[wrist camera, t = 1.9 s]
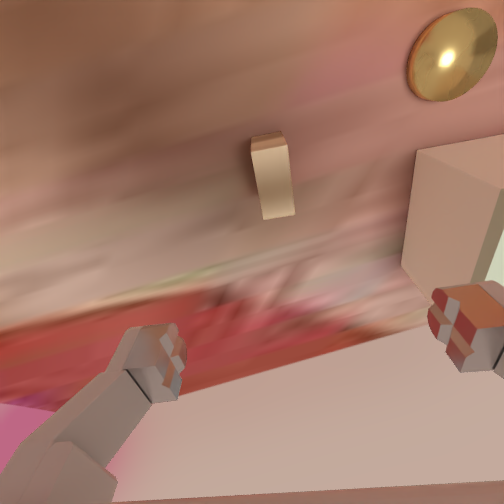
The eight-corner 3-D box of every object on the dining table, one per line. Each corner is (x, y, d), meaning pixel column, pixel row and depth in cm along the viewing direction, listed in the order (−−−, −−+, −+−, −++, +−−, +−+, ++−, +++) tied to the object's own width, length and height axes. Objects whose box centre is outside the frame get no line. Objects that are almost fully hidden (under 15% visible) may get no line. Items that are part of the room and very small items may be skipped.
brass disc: (409, 22, 18) (421, 18, 17) (490, 4, 17) (508, -2, 16) (400, 106, 21) (410, 108, 19) (470, 92, 20) (485, 93, 19)
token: (251, 137, 22) (250, 152, 18) (280, 131, 21) (287, 144, 17) (261, 194, 24) (263, 219, 20) (288, 190, 24) (295, 214, 20)
